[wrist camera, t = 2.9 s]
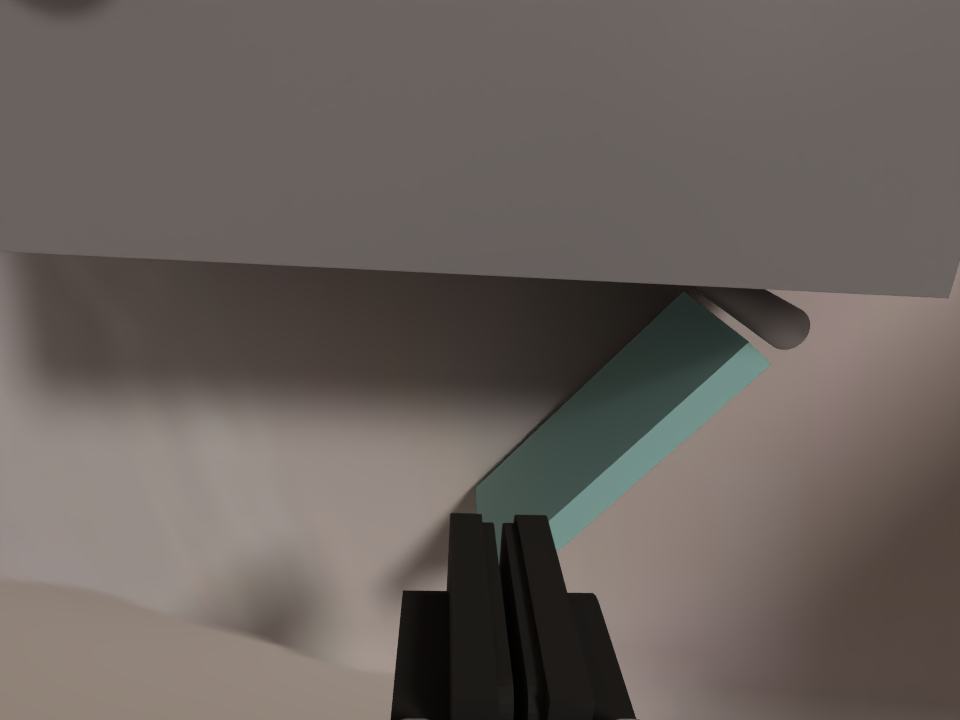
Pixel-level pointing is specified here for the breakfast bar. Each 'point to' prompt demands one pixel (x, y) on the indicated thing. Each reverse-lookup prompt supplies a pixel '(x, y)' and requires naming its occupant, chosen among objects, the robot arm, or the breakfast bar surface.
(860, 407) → the breakfast bar surface
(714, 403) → the side door
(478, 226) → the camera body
